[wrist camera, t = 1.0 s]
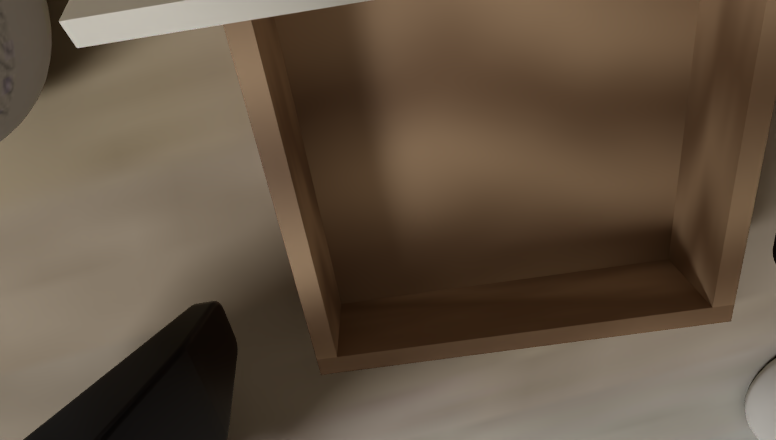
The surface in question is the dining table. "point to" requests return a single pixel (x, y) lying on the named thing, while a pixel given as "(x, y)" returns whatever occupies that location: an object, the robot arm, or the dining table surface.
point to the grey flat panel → (168, 16)
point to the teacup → (22, 58)
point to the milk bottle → (762, 403)
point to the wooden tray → (509, 167)
